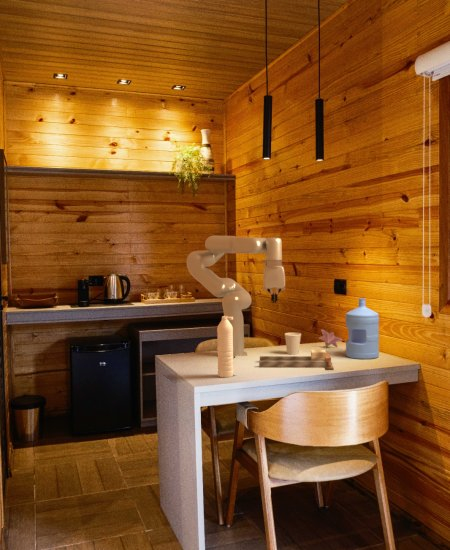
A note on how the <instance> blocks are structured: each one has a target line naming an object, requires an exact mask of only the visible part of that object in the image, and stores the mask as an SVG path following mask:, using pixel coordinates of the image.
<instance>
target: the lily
mask: <svg viewBox="0 0 450 550" xmlns="http://www.w3.org/2000/svg"><path fill="white" fill-rule="evenodd" d="M320 331H321V333H322V336H320V337H318V339H320V340H322V341H324V345H325V347H328V346H330V345H332V346H334V347H335V348H337V349H338V345H337V342H341V341H343V339H342V338H341V337H339V336H335V333H334V332H333V331H331V332H328V331H326V330H324V329H320Z"/></svg>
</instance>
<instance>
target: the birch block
mask: <svg viewBox="0 0 450 550" xmlns="http://www.w3.org/2000/svg"><path fill="white" fill-rule="evenodd" d="M326 353H327V352H326V350H325V349H311V350H310V356H311V361H326Z"/></svg>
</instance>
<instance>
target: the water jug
mask: <svg viewBox="0 0 450 550" xmlns="http://www.w3.org/2000/svg"><path fill="white" fill-rule="evenodd" d="M366 304H367V303H366V298H365V297H363V298H362V297H361V298H358V307H355V308H354V309H352V310H350V311H347V312H346V313H345V328H346V329H348V340H346V341H345V355H346V357H347V358H350V359H354V360H355V359H356V360H371V359H376V358H378V357H379V356H380V351H379V347H380V346H379V344H380V343H379V342H380V341H379V340H380V335H379V333H380V332H379V331H380V330H379V328H380V327H379V326H380V325H379V322H380V317H379V315H380V314H379V313H378V312H376V311H374V310H372V309H370V308H369V307H367V306H366Z"/></svg>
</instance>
